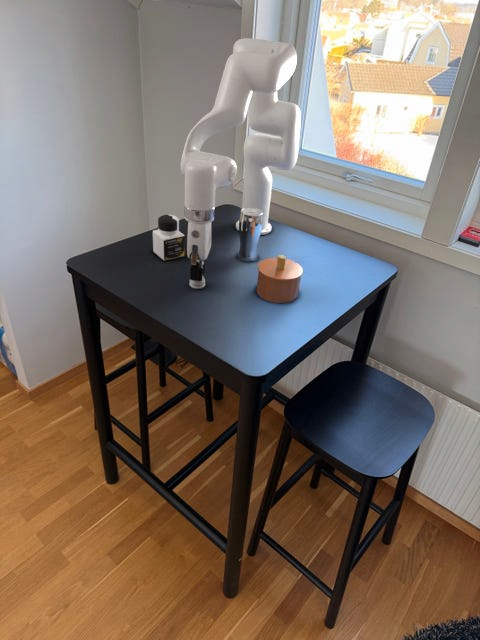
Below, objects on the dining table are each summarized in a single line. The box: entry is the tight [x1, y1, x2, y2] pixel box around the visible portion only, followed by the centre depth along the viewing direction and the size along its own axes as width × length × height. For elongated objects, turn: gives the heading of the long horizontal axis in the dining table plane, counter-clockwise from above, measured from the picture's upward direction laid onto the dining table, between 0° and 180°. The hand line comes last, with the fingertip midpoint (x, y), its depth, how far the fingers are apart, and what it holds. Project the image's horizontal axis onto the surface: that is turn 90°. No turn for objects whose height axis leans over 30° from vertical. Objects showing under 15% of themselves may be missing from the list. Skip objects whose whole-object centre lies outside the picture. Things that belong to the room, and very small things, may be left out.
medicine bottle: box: [152, 214, 186, 262], centre depth 140 cm, size 7×7×12 cm
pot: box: [256, 271, 302, 304], centre depth 128 cm, size 11×11×7 cm
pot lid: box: [257, 254, 304, 281], centre depth 125 cm, size 12×12×4 cm
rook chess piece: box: [188, 260, 206, 290], centre depth 127 cm, size 4×4×8 cm
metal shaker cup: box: [237, 207, 263, 262], centre depth 142 cm, size 7×7×15 cm
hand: (197, 276), depth 128 cm, fingers closed on rook chess piece, 3 cm apart
